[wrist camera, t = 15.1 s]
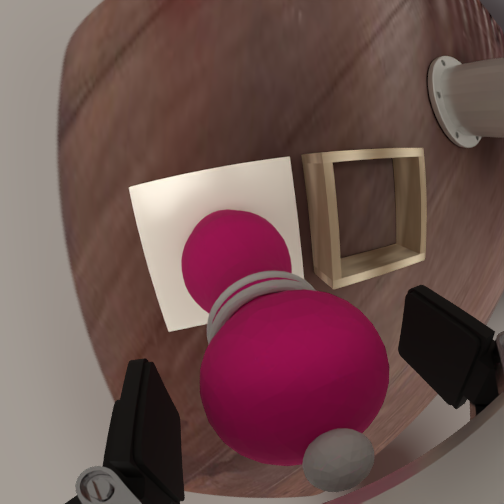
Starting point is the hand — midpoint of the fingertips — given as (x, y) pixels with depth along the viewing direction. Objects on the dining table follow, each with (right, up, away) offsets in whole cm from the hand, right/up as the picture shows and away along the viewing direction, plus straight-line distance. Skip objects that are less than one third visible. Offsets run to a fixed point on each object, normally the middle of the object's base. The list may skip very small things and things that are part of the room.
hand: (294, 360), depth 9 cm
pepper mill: (-4, +4, +14) cm, 15 cm away
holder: (+9, +8, +17) cm, 21 cm away
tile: (-4, +4, +15) cm, 16 cm away
